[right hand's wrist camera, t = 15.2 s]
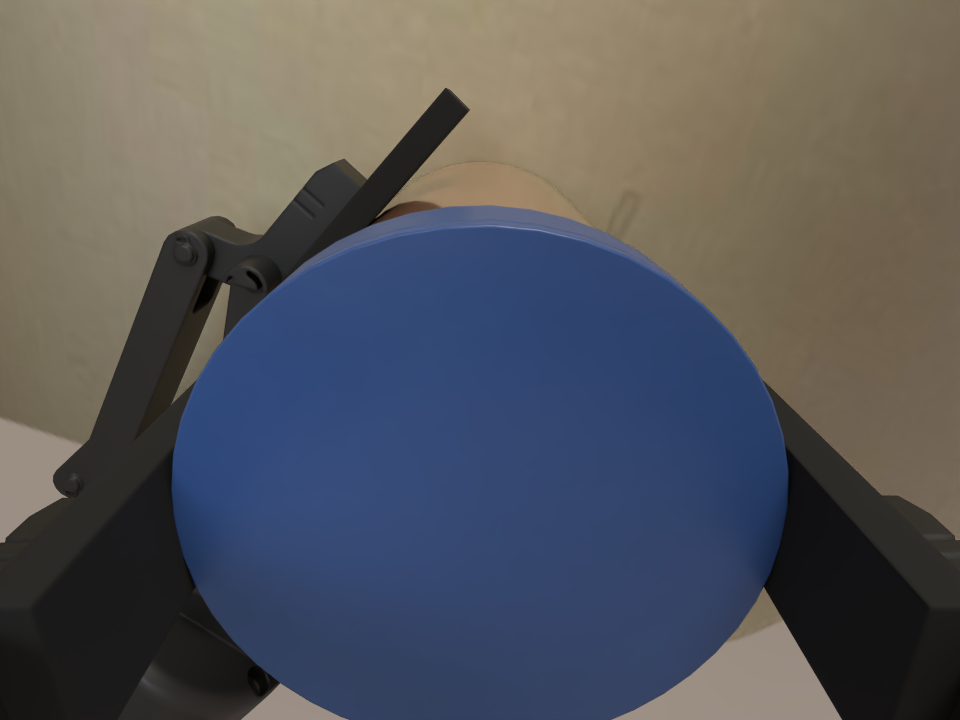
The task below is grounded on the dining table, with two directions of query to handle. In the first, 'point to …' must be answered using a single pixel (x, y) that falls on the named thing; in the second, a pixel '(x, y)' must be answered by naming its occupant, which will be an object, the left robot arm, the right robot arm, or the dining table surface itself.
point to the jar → (480, 191)
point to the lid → (479, 474)
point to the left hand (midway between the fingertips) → (588, 230)
